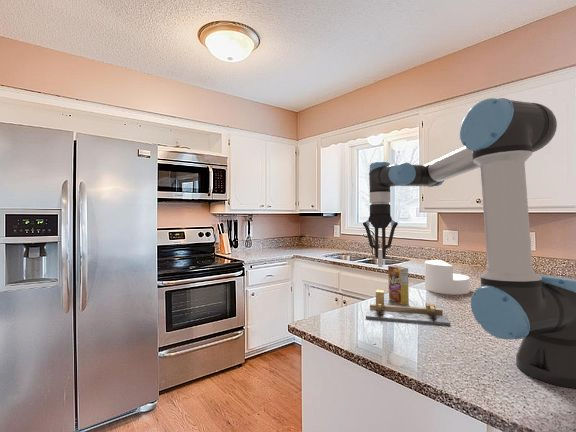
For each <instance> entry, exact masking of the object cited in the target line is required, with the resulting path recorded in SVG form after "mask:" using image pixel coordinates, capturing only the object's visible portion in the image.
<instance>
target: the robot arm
mask: <svg viewBox="0 0 576 432" xmlns="http://www.w3.org/2000/svg"><path fill="white" fill-rule="evenodd" d="M557 127H558V122H557V118H556V115H555V114H554V112H553V110H551V108H549V107H547V106H545V105H544V104H540V103H537V102H529V101H528V102H527V101H521V100H512V99H508V98H504V97H501V98H486V99H484V100H481V101H479V102H477V103H475V104H474V105H473V106H472V107H471V108H470V109H469V110H468V111H467V113H466V115H465V116H464V117H463V120H462V121H461V125H460V129H459V140H460V142H461V144H462V145H463V147H461V148H459V149H456V150H455V151H452V152H450V153H448V154H446V155H443V156H442V157H440V158H437V159H434V160H433V161H431V162H428V163H426V164H411V163H409V162H397V163H395V164H390V162H388V161H374V162H371V163H370V164H369V173H368V176H369V177H368V179H369V203H370V205H369V216H368V220H366V221H364V222H362V226H363V227H364V229H365V231H366V236H367V241H368V244H369V246H370V248H373V249H374V257H375V258H377V260H378V261H377V262H378V263H377V264H378V266H377V267H378V268H383V266H384V265H383V262H384V260H383V259H386V257H387V256H386V255H387V254H386V252H387V251H386V250H387V249H389V248H391V247H392V243H393V238H394V234H395V230H396V228H397V226H398V225H399V223H398V222H397V221H395V220H393V218H392V216H391V211H392V210H391V204H390V203H391V187H429V188H432V187H439V186H441V185H443V183H444V182H445V181H446V180H449V179H451V178H454V177H457V176H460V175H463V174H466V173H468V172H471V171H473V170H476V169H480V179H481V180H480V181H481V194H482V195H481V196H482V206H483V207H482V208H483V209H482V210H483V222H484V223H483V224H484V238H485V253H486V266H487V268H486V269H485V270H484V271H483V272H482V273H481V274H480V286H479V287H478V288H476V289H475V290H474V292H473V293H472V294H471V296H470V297H471V298H470V308H471V311H472V315H473V316H474V319H475V320H476V321H477V324H479V325H480V326H481V327H482V329H483V330H484V331H485V332H487V333H488V334H489V335H491V336H493V337H495V338H496V339H500V340H501V339H502V340H521V339H522V340H521V343H520V345H519V348H518V350H517V352H516V355H515V360H516V361H515V365H516V367H517V368H518V369H519V370H520V371H521V372H522V373H524V374H526V375H527V376H530V377H532V378H533V379H536V380H538V381H542V382H545V383H547V384H551V385H555V386H561V387H565V388H569V389H576V279H573V278H568V277H560V276H554V275H547V274H539V273H537V272H536V271H535V270H534V269H533V256H532V242H531V229H530V227H531V226H530V218H529V217H530V216H529V215H530V214H529V205H528V189H527V176H526V165H525V164H526V161H528V159H529V158H530V157H531V156H532V155H533V153H535V152H537V151H540V150H541V149H543V148H544V147H546V146H547V145H548V144H549V143H550V142H551V141H552V139H553V138H554V137H555V134H556V132H557ZM370 224H371V226H372V227H373V228H374V242H373V238H372V237H373V236H372V233H371V230H370ZM389 225H390V226H391V228H390V232H389V235H388V236H389V237H388V241H387V244H386V228H387V227H388V226H389ZM379 229H381V247H382V248H379V247H380V246H379V245H380V244H379Z"/></svg>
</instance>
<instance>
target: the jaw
mask: <svg viewBox="0 0 576 432" xmlns="http://www.w3.org/2000/svg"><path fill="white" fill-rule="evenodd" d="M375 304H376V311H379V313H381V311H384V305H385V289H384V290H383V289H382V290H381V289H375Z"/></svg>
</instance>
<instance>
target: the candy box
mask: <svg viewBox="0 0 576 432" xmlns="http://www.w3.org/2000/svg"><path fill="white" fill-rule="evenodd" d="M387 268H388V269H387V270H388V300H389V299H390V300H389V301H391V300H392V302H394V303H396V304H398V305H400V304H401V305H400V306H404V305H403V304H405V305H409V304H410V300H409V296H410V295H409V268H407V267H403V266H399V265H397V264H394V265H388V266H387Z"/></svg>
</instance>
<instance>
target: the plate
mask: <svg viewBox="0 0 576 432" xmlns="http://www.w3.org/2000/svg"><path fill="white" fill-rule="evenodd" d="M365 314H366V315H365V320H373V321H374V320H376V321H385V320H386V321H387V322H399V323H408V324H409V323H413V324H423V325H436V326H446V327H447V326H449V327H450V326H451V322H450V319H449V317H448V316H447V315H444V314H443V315H434V317H432V315H430V314H416V313H402V312H389V311H381V313H379V311H375V310H370V309H366V313H365ZM386 321H385V322H386Z"/></svg>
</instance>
